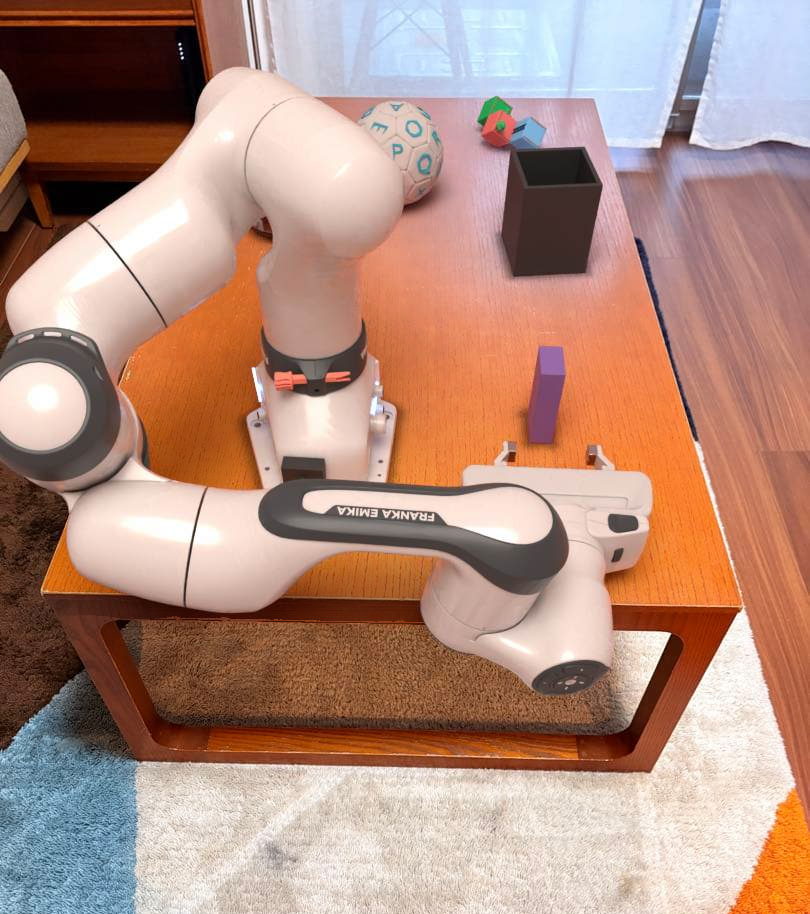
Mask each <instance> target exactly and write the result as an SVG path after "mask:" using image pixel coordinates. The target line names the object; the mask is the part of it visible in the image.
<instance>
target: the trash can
mask: <svg viewBox="0 0 810 914" xmlns="http://www.w3.org/2000/svg"><path fill="white" fill-rule="evenodd" d="M507 169H508V170H507V177H506V187H505V198H504V205H503V206H504V207H503V217H502V225H501V234H500V236H501V237H500V238H501V240H502V243H503V246H504V250H505V253H506V256H507V260H508V263H509V267H510V270H511V273H512V276H513V277H527V276H528V277H529V276H544V275H545V276H547V275H548V276H549V275H567V274H585V273H586V270H587V266H588V261H589V255H590V252H591V246H592V243H593V242H592V241H593V238H594V237H593V236H594V231H595V226H596V223H597V222H596V221H597V218H598V217H597V216H598V212H599V207H600V204H601V197H602V193H603V189H604V187H603V186H604V185H603V184H604V183H603V182H602V180H601V178H600V176H599V173H598V171H597V169H596V166H595V164H594V163H593V160H592V159H591V157H590V155H589V152H588V150H587V148H586V146H564V147H563V146H562V147H540V148H536V149H517V148H514V149H513V148H512V149H510V150H509V160H508V168H507Z"/></svg>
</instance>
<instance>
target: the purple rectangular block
mask: <svg viewBox="0 0 810 914" xmlns="http://www.w3.org/2000/svg"><path fill="white" fill-rule="evenodd" d="M535 361H536V362H535V368H534V374H533V378H532V385H531V390H530V391H531V392H530V396H529V403H528V409H527V413H526V414H527V415H526V416H527V417H526V418H527V430H528V443H529V444H549V445H551V444H552V443H553V439H554V433H555V429H556V425H557V420H558V416H559V409H560V404H561V400H562V394H563V392H564V391H563V390H564V386H565V381H566V376H567V374H566V373H567V372H566V364H565V354H564V347H563V346H553V345H551V346H549V345H538V348H537V355H536V360H535Z"/></svg>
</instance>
